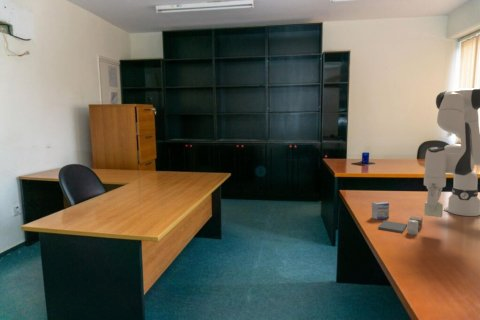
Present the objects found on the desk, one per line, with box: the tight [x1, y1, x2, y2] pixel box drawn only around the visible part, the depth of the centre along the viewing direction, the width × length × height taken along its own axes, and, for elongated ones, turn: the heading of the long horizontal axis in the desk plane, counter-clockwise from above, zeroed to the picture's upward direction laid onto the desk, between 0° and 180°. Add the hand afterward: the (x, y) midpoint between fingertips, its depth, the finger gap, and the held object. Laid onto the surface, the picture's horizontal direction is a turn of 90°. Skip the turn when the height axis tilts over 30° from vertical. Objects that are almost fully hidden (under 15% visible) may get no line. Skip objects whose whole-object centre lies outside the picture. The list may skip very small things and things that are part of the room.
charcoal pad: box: [378, 220, 408, 234], centre depth 164 cm, size 12×11×1 cm
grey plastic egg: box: [406, 219, 419, 236], centre depth 155 cm, size 4×4×6 cm
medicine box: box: [371, 201, 390, 221], centre depth 179 cm, size 8×4×9 cm, turn 105°
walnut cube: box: [409, 215, 423, 231], centre depth 163 cm, size 5×5×5 cm
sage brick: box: [423, 200, 444, 218], centre depth 154 cm, size 4×7×6 cm, turn 54°
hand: (433, 210), depth 154 cm, fingers closed on sage brick, 4 cm apart
